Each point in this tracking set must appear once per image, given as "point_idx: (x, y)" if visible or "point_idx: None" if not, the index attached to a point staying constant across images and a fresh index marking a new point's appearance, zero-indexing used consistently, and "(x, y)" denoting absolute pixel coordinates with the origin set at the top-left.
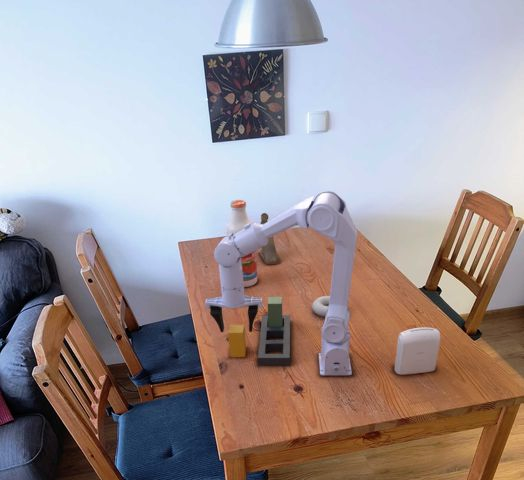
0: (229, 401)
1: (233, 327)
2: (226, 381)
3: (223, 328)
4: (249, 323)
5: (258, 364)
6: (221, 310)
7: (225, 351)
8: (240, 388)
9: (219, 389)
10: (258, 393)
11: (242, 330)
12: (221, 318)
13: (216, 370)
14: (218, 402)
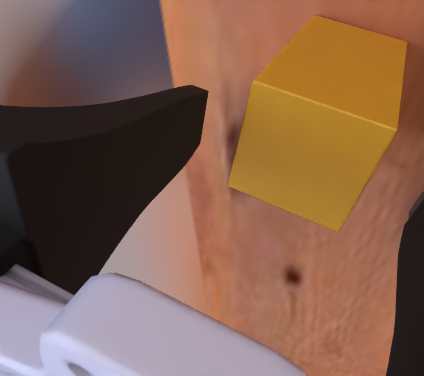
0: (244, 303)
1: (280, 138)
2: (245, 233)
3: (196, 124)
4: (398, 319)
5: (409, 217)
6: (89, 176)
7: (270, 30)
8: (287, 281)
9: (219, 253)
10: (340, 324)
11: (345, 208)
12: (134, 182)
13: (214, 164)
14: (214, 291)
